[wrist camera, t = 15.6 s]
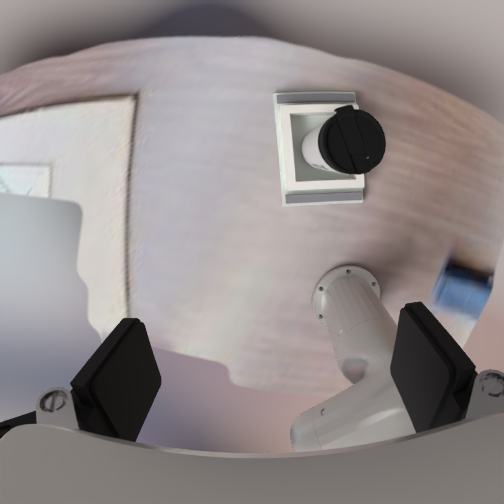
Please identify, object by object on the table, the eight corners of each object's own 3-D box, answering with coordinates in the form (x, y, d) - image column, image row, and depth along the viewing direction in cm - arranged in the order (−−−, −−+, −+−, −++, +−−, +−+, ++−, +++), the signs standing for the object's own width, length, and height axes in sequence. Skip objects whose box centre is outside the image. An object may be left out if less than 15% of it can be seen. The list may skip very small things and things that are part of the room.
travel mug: (331, 122, 41) (373, 97, 22) (345, 161, 43) (397, 165, 24) (293, 134, 42) (310, 115, 23) (309, 174, 44) (337, 185, 25)
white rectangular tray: (361, 201, 45) (369, 206, 41) (282, 205, 46) (283, 210, 42) (353, 93, 40) (361, 87, 36) (272, 94, 41) (272, 88, 37)
